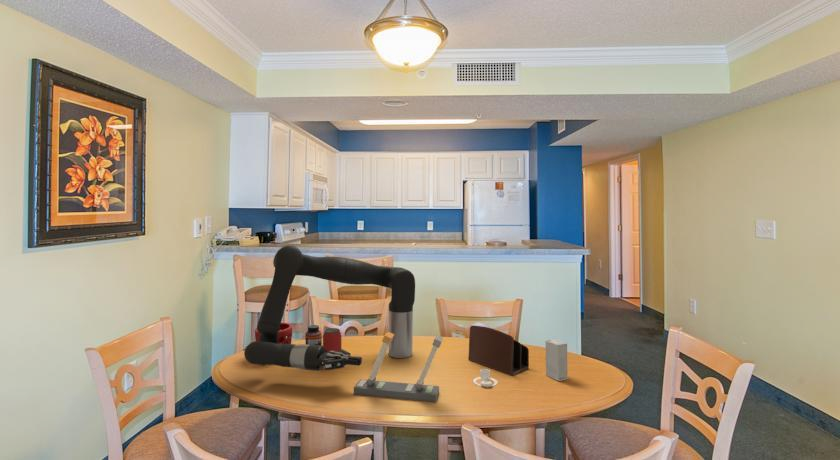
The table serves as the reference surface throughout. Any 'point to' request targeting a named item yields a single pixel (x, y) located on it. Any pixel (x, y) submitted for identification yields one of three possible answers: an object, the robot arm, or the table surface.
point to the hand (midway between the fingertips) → (361, 361)
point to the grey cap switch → (429, 362)
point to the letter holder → (497, 350)
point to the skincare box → (556, 359)
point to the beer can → (332, 339)
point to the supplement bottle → (313, 335)
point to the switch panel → (397, 390)
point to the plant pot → (280, 334)
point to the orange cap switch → (380, 358)
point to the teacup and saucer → (485, 379)
